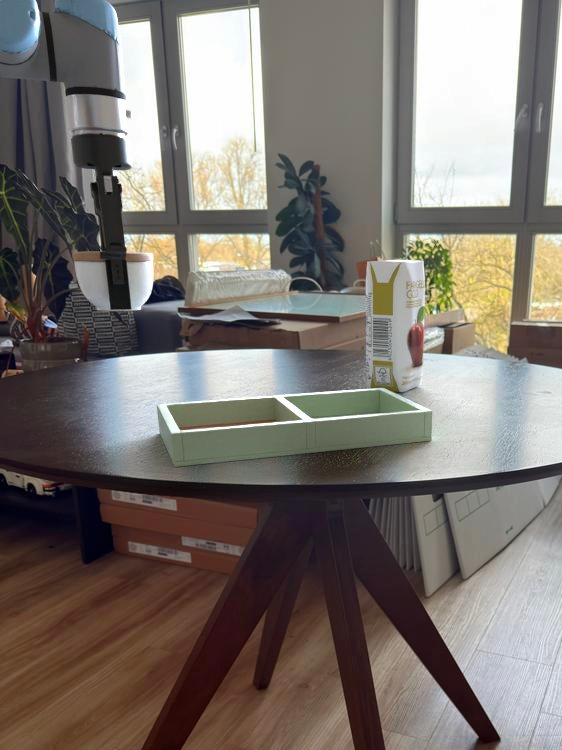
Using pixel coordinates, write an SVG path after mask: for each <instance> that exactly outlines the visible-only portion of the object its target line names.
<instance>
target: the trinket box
mask: <svg viewBox="0 0 562 750" xmlns="http://www.w3.org/2000/svg"><path fill="white" fill-rule="evenodd" d="M100 252H105V251H101V250H100V251H93V250H90V251H73V252H72V260H73V262H74V270H75V275H76V276H75V277H76V280H77V283H78V286H79V288H80V290H81V292H82V294H83V296H84V297H85V299H86V300H87V301H88V302H89V303H90V304H92V305H93V306H94V307H95V308H96V311H101V312H134V311H141V310H142V307H143V306H144V304H146V302H147V301H148V300H149V298H150V296H151V294H152V291H153V288H154V287H153V286H154V277H155V276H154V275H155V274H154V263H153V261H154V254H153V253H151V252H145V251H143V252H142V251H126V259H122V260H126V261H127V270H128V280H129V290H130V300H131V309H132V310H111V309H110V300H109V291H108V282H107V273H106V265H105V259H100Z"/></svg>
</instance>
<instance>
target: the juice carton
mask: <svg viewBox="0 0 562 750" xmlns="http://www.w3.org/2000/svg"><path fill="white" fill-rule="evenodd" d="M424 266H425V265H424V260H415V259H386V260H367V261H366V271H365V272H366V273H365V372H366V373H365V374H366V382H367V389H374V388H385V389H387V390H389V391H391V392H393V393H405V392H408V391H410V390H411V389H414V388H417V387H419V386H421V384H422V379H423V372H424V350H425V347H424V346H425V343H424V342H425V340H424V339H425V309H426V307H425V303H426V302H425V300H426V298H425V297H426V274H425V267H424Z"/></svg>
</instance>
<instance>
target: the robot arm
mask: <svg viewBox="0 0 562 750" xmlns="http://www.w3.org/2000/svg"><path fill="white" fill-rule="evenodd" d="M118 21H119V20H118V15H117V12H116V10H115V7H114V6H113V5H112V4H111V3H110V2H108V1H107V0H54V7H53V11H48V12H46V11H40V9H39V7H38V3H37V0H0V78H6V79H7V78H8V79H19V80H20V79H21V80H33V81H45V82H51V83H62V84H63V86H64V95H65V106H66V114H67V123H68V129H69V131H70V132H71V133H74V135H72V137H71V138H70V144H71V153H72V162H73V164H74V165H75V167H77V168H80V169H85V170H94V176H95V181H91V182H90V183H89V187H90V188H89V189H90V195H91V198H92V199H93V209H94V215H95V216H97V218H98V229H99V238H100V246H99V249H100V251H105V252H100V259H105V265H106V273H107V282H108V291H109V300H110V309H111V310H132V309H131V300H130V290H129V280H128V270H127V261H126V260H122V259H126V252H128V249H127V246H126V240H125V233H124V232H125V231H124V225H123V216H122V215H123V213H124V208H123V201H122V200H123V199H122V198H123V185H122V183H119V182H120V180H119V177H118V176H117V175H115V171H128V170H131V169H132V168H133V156H132V146H131V141H129V139H128V138H125V137H126V136H128V135H129V133H130V130H129V120H128V119H132V118H133V112H132V111H131V110H129V109H126V107H127V98H126V96H127V95H126V84H125V74H124V61H123V43H122V41H121V37H120V29H119V22H118Z"/></svg>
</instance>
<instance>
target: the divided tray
mask: <svg viewBox="0 0 562 750" xmlns="http://www.w3.org/2000/svg"><path fill="white" fill-rule="evenodd" d="M156 412H157V413H156V414H157V421H158V423H157V424H158V432H159V434H160V437H161V439H162V441H163V442H162V443H163V444H164V446H165V448H166V450H167V451H166V452H168V456H169V457H170V459H171V462H172V464H173V466H174V468H176V467H177V468H178V467H187V466H188V467H189V466H197V465H207V464H217V463H226V462H236V461H245V460H254V459H255V460H256V459H263V458H273V457H274V458H275V457H286V456H293V455H305V454H314V453H323V452H333V451H334V452H335V451H343V450H344V451H345V450H353V449H362V448H363V449H364V448H372V447H383V446H392V445H402V444H411V443H412V444H413V443H422V442H430V441H433V440H432V435H433V410H431V409H429V408H426V407H425V406H423V405H420V404H418V403H416V402H414V401H412V400H410V399H408V398H406V397H404V396H402V395H400V394H398V393H396V392H392V391H389V390H387V389H385V388H374V389H368V388H363V389H349V390H334V391H322V392H321V391H320V392H306V393H294V394H277V395H266V396H265V395H264V396H250V397H249V396H248V397H238V398H236V397H235V398H223V399H208V400H207V399H206V400H195V401H183V402H182V401H181V402H168V403H157V404H156Z"/></svg>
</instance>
